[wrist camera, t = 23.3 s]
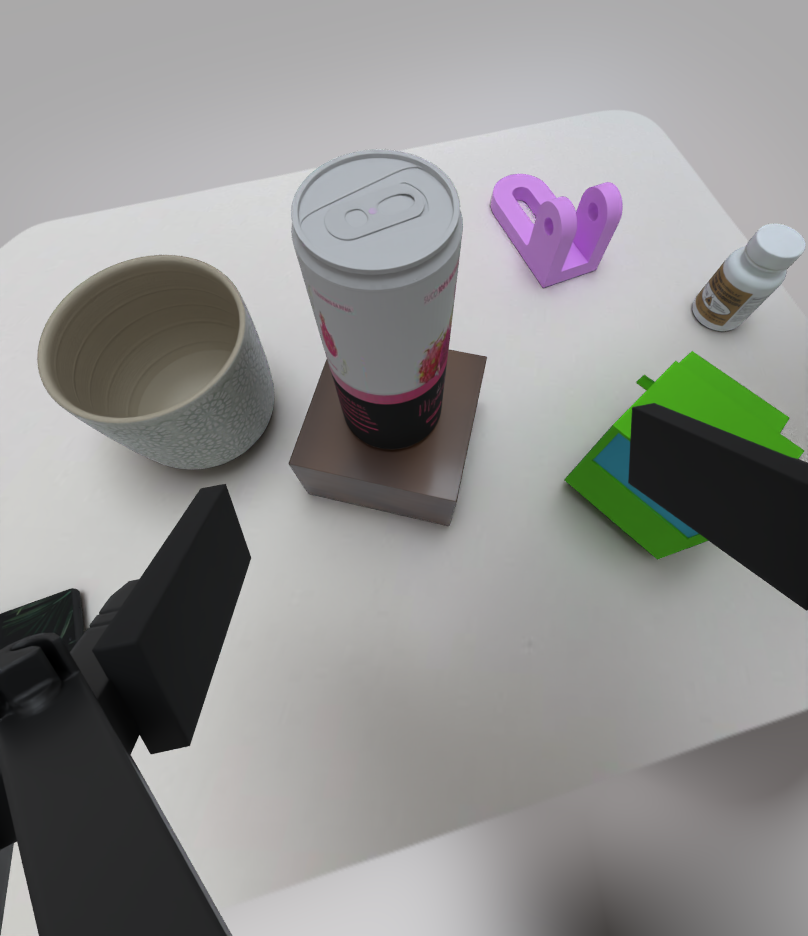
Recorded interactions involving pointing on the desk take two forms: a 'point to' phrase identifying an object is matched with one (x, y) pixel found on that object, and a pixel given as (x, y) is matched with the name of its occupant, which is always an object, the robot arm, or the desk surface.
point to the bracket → (557, 226)
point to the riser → (391, 451)
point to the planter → (160, 361)
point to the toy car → (694, 395)
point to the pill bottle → (748, 277)
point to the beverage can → (382, 286)
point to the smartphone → (45, 619)
